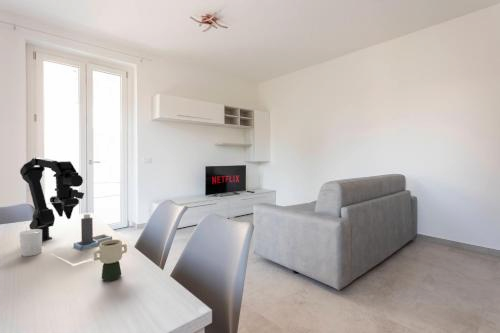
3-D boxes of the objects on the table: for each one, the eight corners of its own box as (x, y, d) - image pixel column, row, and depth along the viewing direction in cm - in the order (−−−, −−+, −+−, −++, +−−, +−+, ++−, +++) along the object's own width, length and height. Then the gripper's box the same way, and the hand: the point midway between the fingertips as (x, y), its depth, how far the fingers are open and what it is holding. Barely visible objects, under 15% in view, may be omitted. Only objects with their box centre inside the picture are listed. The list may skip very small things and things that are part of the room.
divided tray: (71, 247, 125) (70, 242, 125) (104, 238, 138) (104, 233, 138) (81, 251, 119) (81, 246, 119) (115, 242, 132) (114, 237, 132)
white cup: (30, 257, 113) (28, 234, 112) (15, 256, 114) (14, 233, 114) (47, 251, 120) (46, 229, 120) (33, 249, 122) (32, 228, 122)
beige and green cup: (123, 270, 100) (123, 236, 100) (131, 276, 95) (130, 241, 94) (91, 280, 92) (90, 243, 92) (97, 287, 87) (96, 249, 87)
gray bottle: (80, 245, 125) (80, 214, 124) (91, 243, 128) (91, 213, 127) (82, 248, 121) (82, 215, 121) (93, 246, 124) (93, 214, 124)
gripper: (90, 185, 130) (91, 216, 131) (73, 183, 141) (75, 212, 141) (64, 188, 121) (65, 221, 121) (48, 185, 132) (50, 216, 132)
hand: (64, 217), depth 129 cm, fingers open, 9 cm apart
